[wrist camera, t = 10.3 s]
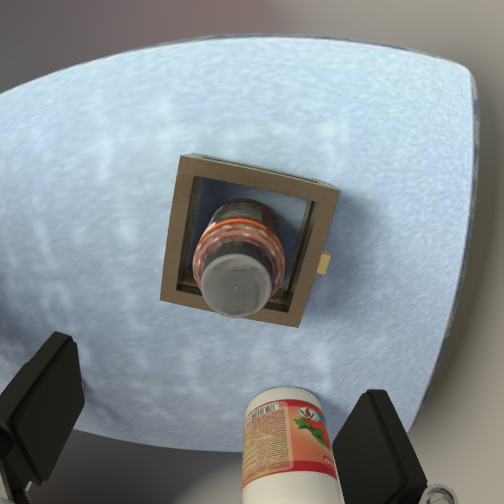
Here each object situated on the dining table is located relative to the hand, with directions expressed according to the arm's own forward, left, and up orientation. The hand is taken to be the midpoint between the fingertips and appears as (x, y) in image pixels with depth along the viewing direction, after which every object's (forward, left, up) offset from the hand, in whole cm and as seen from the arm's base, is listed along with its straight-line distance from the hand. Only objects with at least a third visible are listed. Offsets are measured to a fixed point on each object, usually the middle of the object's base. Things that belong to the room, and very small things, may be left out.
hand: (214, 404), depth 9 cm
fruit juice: (+9, -21, -20) cm, 31 cm away
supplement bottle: (0, 0, -20) cm, 20 cm away
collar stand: (0, 0, -20) cm, 20 cm away
